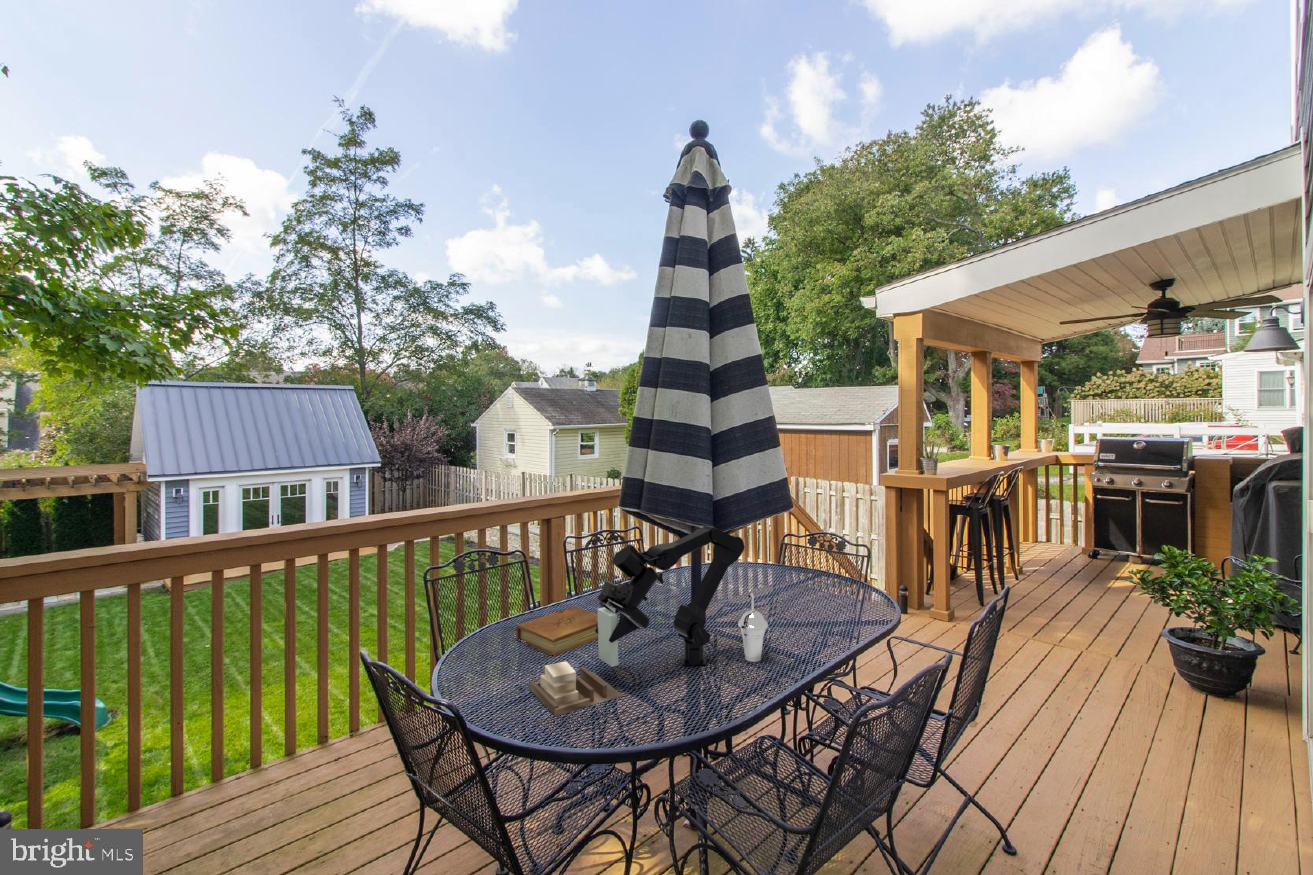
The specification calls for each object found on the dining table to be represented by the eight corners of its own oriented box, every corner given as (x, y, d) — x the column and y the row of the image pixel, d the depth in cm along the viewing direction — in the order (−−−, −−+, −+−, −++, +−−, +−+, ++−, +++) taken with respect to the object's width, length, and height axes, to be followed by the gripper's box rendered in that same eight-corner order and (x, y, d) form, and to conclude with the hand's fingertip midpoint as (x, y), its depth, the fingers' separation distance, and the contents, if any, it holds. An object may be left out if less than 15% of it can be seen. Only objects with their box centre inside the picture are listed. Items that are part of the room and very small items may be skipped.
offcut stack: (564, 686, 149) (563, 659, 149) (579, 701, 142) (579, 671, 141) (539, 693, 145) (539, 665, 145) (554, 708, 138) (554, 678, 138)
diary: (573, 622, 200) (572, 606, 200) (610, 636, 187) (610, 618, 187) (516, 641, 183) (516, 623, 183) (553, 658, 170) (553, 638, 170)
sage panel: (605, 655, 154) (604, 607, 154) (618, 664, 149) (617, 614, 148) (598, 657, 153) (597, 608, 153) (611, 666, 147) (610, 616, 147)
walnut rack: (593, 675, 158) (593, 661, 158) (623, 698, 144) (622, 683, 144) (529, 692, 148) (529, 678, 148) (555, 719, 134) (555, 703, 134)
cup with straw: (773, 658, 168) (773, 589, 167) (755, 667, 162) (754, 596, 161) (749, 650, 174) (749, 583, 173) (730, 659, 168) (730, 590, 167)
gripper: (602, 562, 160) (566, 610, 154) (638, 577, 144) (599, 631, 139) (628, 585, 165) (594, 632, 159) (665, 602, 149) (629, 655, 143)
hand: (603, 637), depth 150 cm, fingers closed on sage panel, 7 cm apart
